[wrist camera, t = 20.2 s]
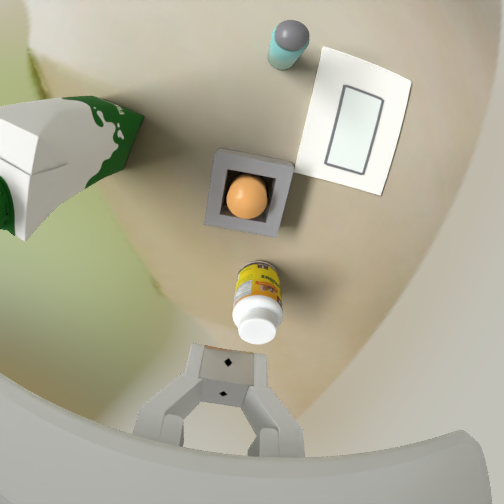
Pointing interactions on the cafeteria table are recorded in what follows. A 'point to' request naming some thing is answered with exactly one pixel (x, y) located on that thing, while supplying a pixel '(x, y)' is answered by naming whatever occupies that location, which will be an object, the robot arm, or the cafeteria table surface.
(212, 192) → the button housing
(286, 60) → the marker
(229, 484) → the robot arm
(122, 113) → the milk carton
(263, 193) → the button
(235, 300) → the supplement bottle
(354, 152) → the worksheet
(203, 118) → the cafeteria table surface
